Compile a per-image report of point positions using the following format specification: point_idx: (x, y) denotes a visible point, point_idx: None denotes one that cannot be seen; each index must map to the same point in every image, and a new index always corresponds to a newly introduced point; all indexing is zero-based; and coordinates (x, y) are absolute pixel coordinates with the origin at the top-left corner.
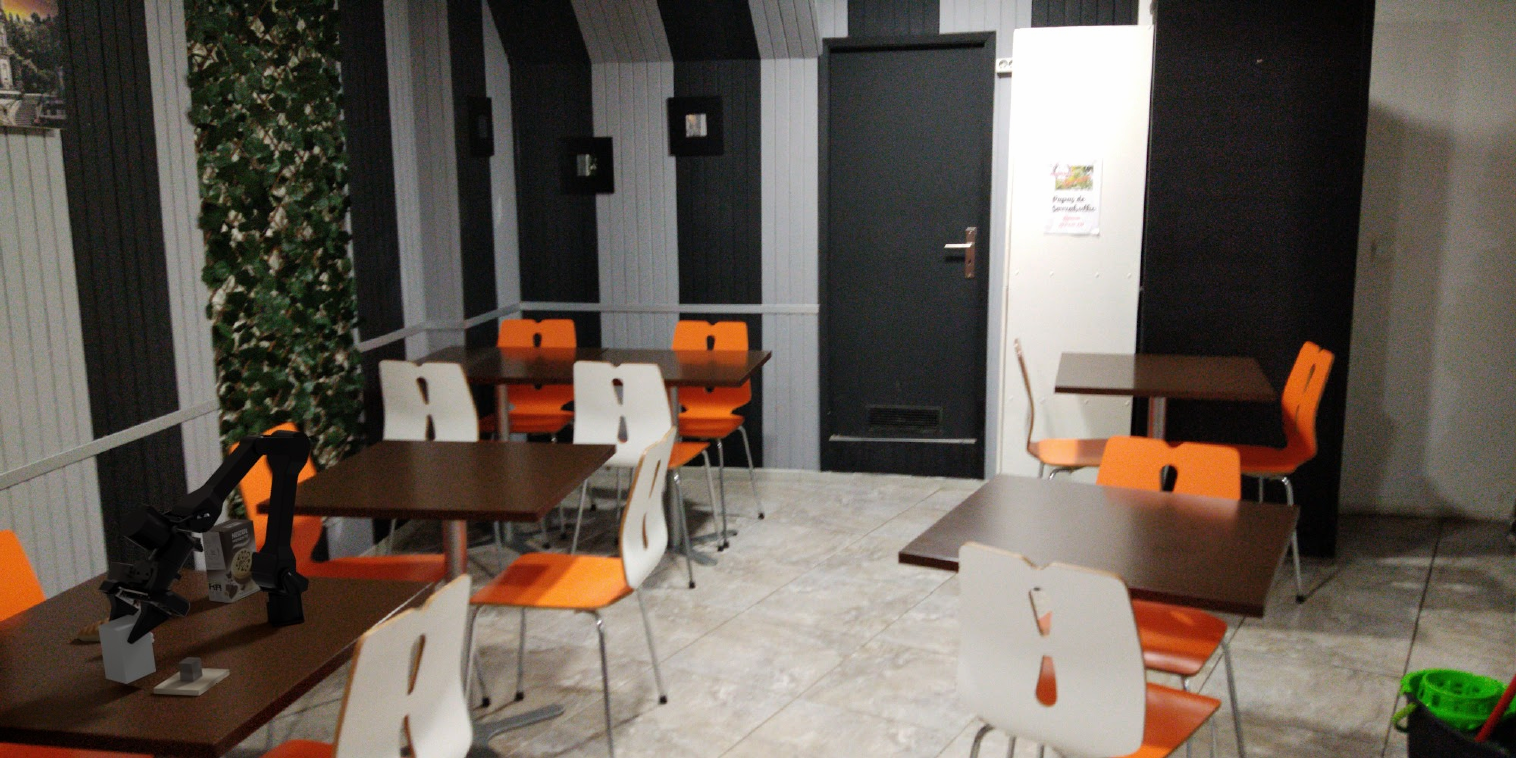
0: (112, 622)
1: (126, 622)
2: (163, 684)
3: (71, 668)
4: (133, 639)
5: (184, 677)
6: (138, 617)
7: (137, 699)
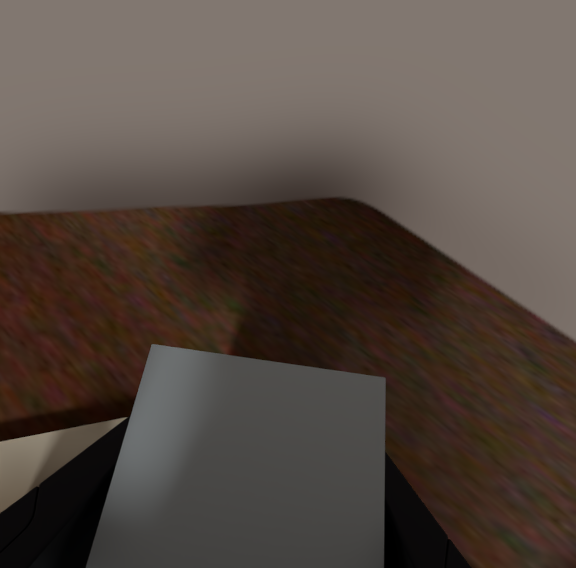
0: (344, 470)
1: (223, 511)
2: None
3: (568, 489)
4: None
5: None
6: (31, 554)
7: None
